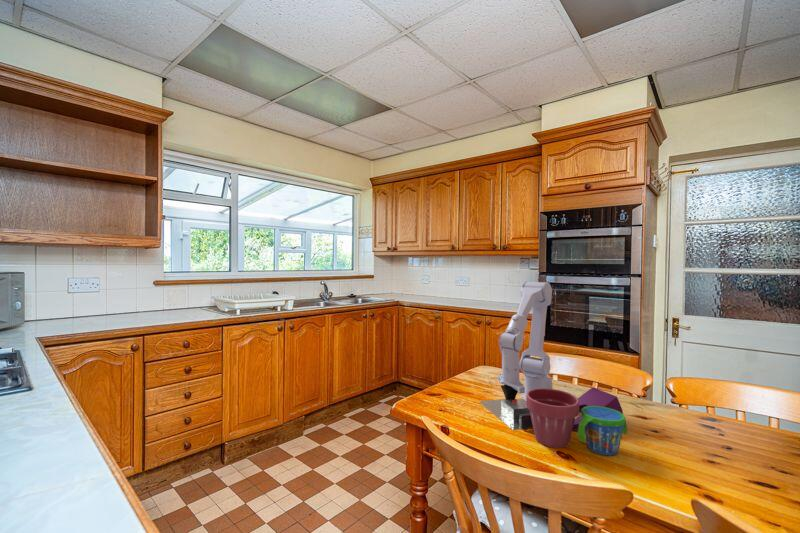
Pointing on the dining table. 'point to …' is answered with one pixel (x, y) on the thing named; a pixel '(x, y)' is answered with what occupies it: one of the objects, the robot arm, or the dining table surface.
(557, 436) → the plant pot
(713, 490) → the dining table surface
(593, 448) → the snack cup
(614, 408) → the mounting bracket
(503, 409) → the block
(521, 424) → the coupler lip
